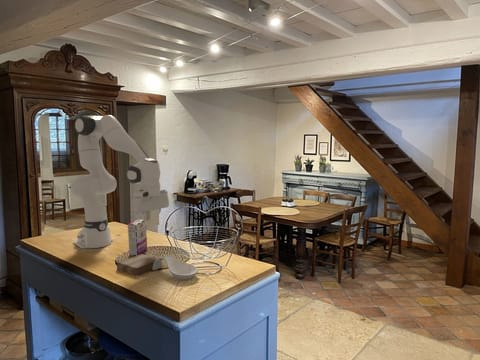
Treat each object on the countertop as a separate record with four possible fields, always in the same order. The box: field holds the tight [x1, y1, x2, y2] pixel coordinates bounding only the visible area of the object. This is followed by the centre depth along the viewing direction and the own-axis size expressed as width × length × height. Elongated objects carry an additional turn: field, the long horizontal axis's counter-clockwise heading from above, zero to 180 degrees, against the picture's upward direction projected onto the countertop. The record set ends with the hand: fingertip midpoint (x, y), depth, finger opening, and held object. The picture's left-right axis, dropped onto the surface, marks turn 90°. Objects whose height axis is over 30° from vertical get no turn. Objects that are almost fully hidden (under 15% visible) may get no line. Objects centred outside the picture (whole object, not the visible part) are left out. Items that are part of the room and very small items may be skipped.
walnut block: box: [116, 253, 162, 277], centre depth 165 cm, size 14×14×4 cm
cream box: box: [145, 209, 160, 228], centre depth 179 cm, size 5×5×8 cm
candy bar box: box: [127, 218, 148, 256], centre depth 187 cm, size 11×5×16 cm, turn 168°
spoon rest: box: [152, 255, 199, 281], centre depth 157 cm, size 24×12×7 cm, turn 56°
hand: (151, 218), depth 179 cm, fingers closed on cream box, 5 cm apart
